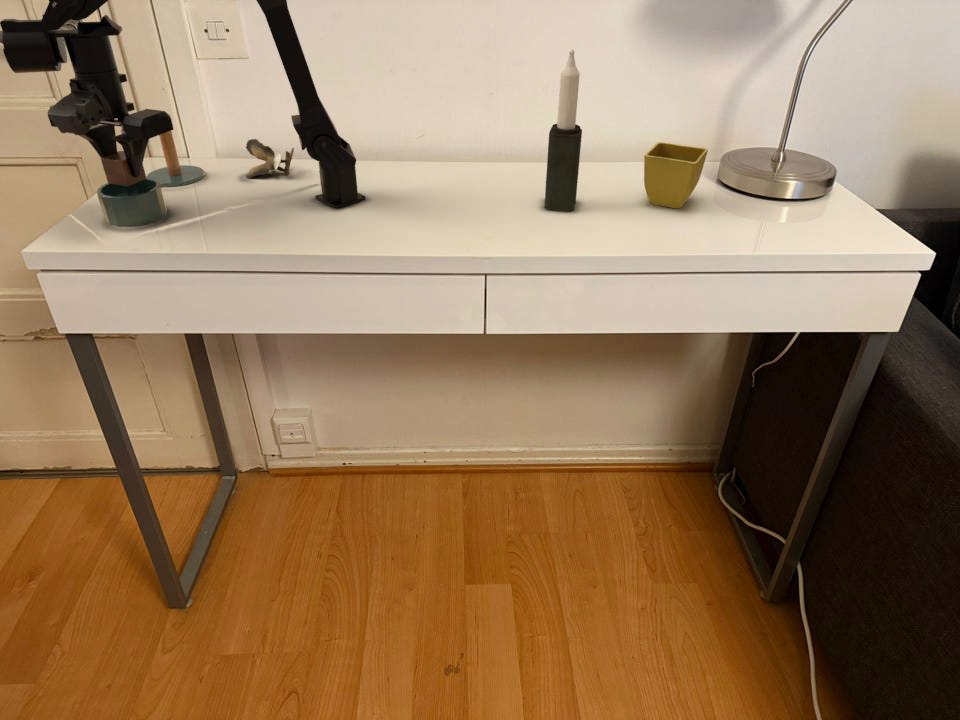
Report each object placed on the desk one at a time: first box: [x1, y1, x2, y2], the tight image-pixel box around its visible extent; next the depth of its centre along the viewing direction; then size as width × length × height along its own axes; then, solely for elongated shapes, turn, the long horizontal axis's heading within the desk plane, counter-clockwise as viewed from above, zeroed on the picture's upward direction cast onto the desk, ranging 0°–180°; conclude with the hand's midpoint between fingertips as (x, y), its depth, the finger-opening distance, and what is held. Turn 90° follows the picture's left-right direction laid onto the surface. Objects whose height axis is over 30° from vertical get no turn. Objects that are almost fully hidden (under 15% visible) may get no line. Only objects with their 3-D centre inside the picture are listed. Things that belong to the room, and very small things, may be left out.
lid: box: [146, 130, 206, 188], centre depth 125 cm, size 10×10×11 cm
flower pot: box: [643, 141, 709, 209], centre depth 119 cm, size 9×9×9 cm
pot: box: [96, 178, 168, 228], centre depth 112 cm, size 9×9×5 cm
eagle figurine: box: [245, 138, 295, 179], centre depth 129 cm, size 8×7×9 cm
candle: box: [544, 48, 583, 213], centre depth 113 cm, size 5×5×25 cm
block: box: [100, 150, 147, 186], centre depth 109 cm, size 4×4×4 cm
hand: (125, 174), depth 109 cm, fingers closed on block, 4 cm apart
